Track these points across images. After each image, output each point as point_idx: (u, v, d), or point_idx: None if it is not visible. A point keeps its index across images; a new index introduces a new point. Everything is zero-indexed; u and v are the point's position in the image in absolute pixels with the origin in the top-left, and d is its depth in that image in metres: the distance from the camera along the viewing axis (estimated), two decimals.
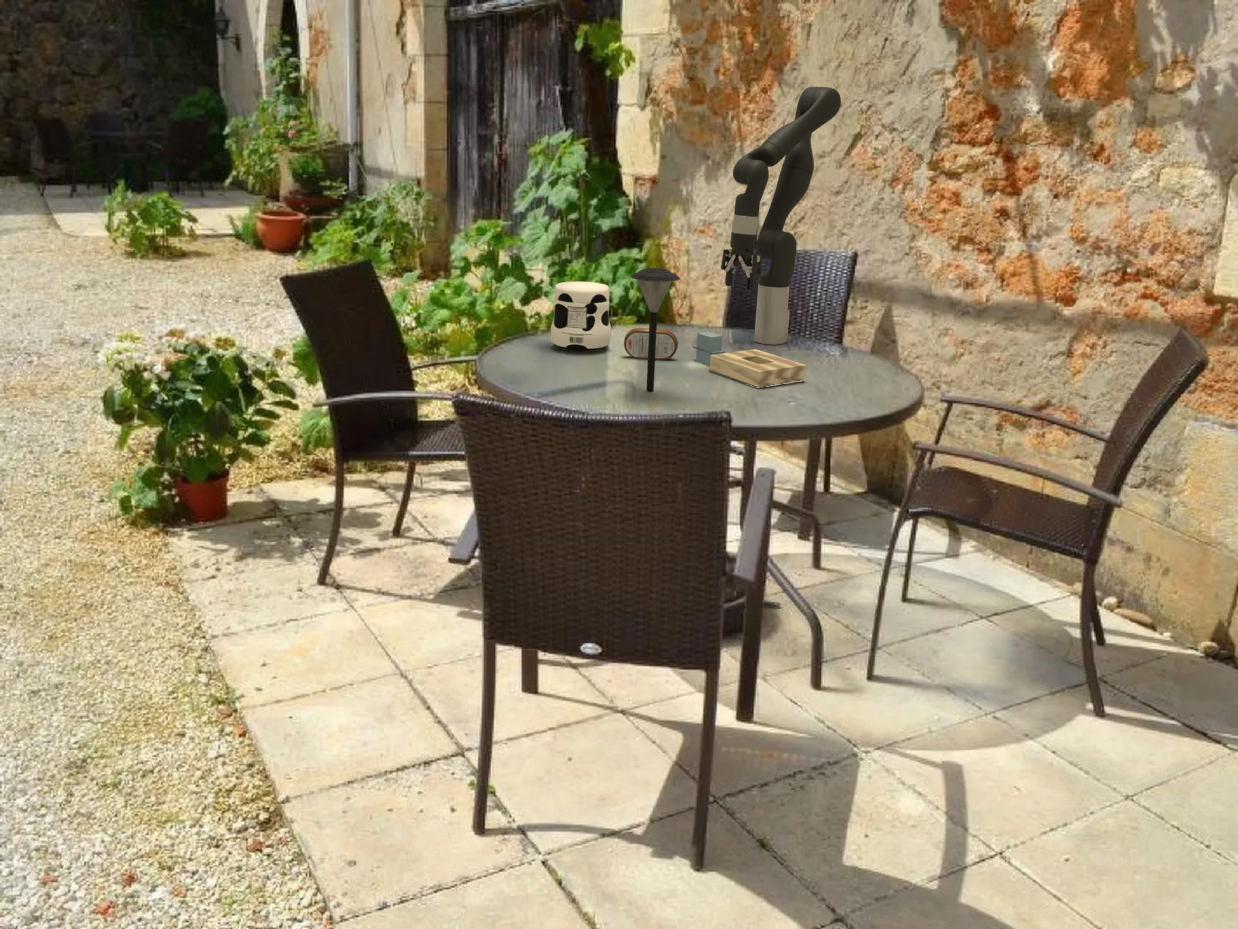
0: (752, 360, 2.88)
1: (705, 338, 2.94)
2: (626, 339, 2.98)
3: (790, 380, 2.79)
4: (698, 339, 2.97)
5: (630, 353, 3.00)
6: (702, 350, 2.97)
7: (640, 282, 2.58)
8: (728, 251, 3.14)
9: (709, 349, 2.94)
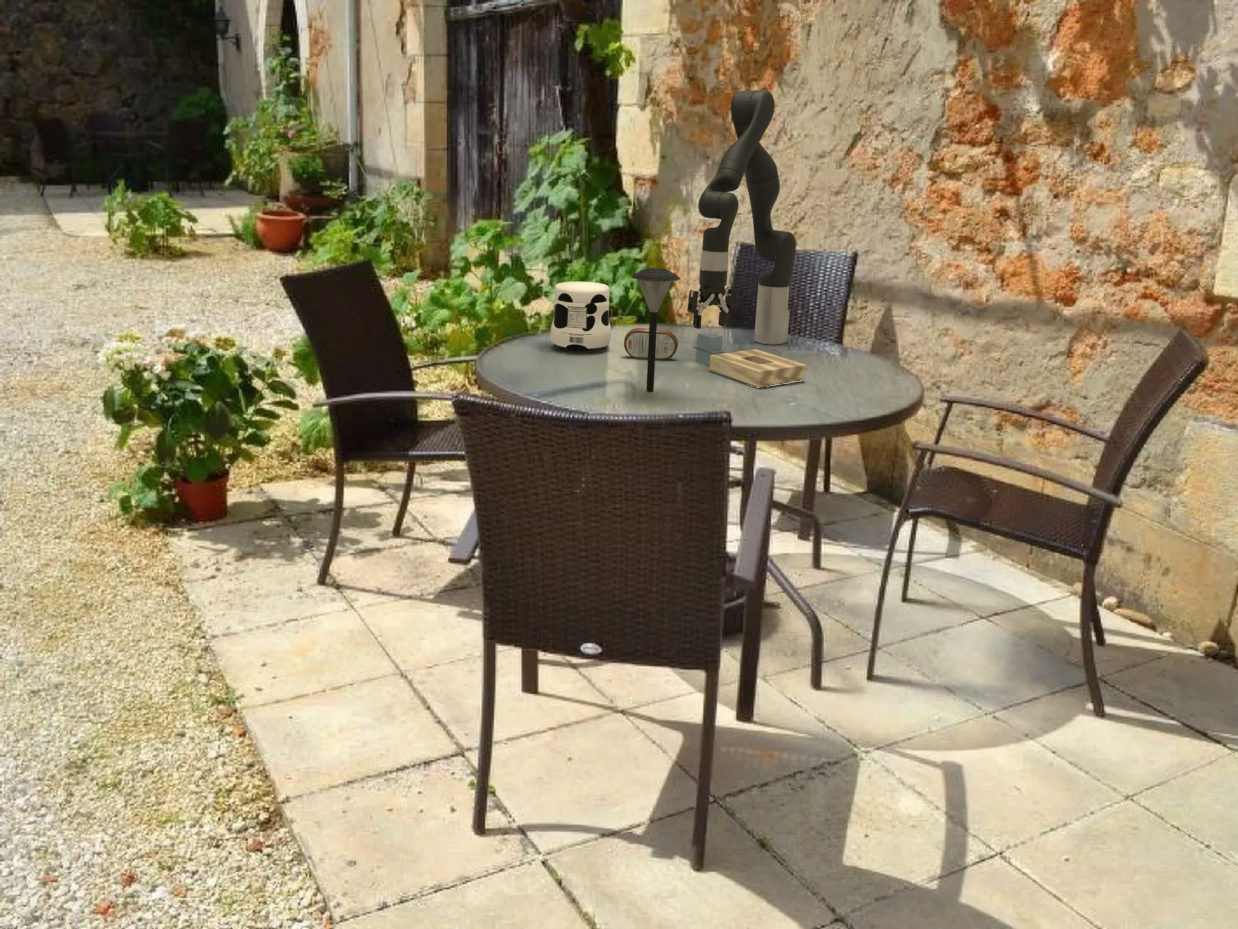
0: (752, 360, 2.88)
1: (706, 338, 2.94)
2: (626, 339, 2.98)
3: (790, 380, 2.79)
4: (698, 339, 2.97)
5: (630, 353, 3.00)
6: (702, 350, 2.97)
7: (640, 282, 2.58)
8: (697, 292, 2.89)
9: (709, 349, 2.94)
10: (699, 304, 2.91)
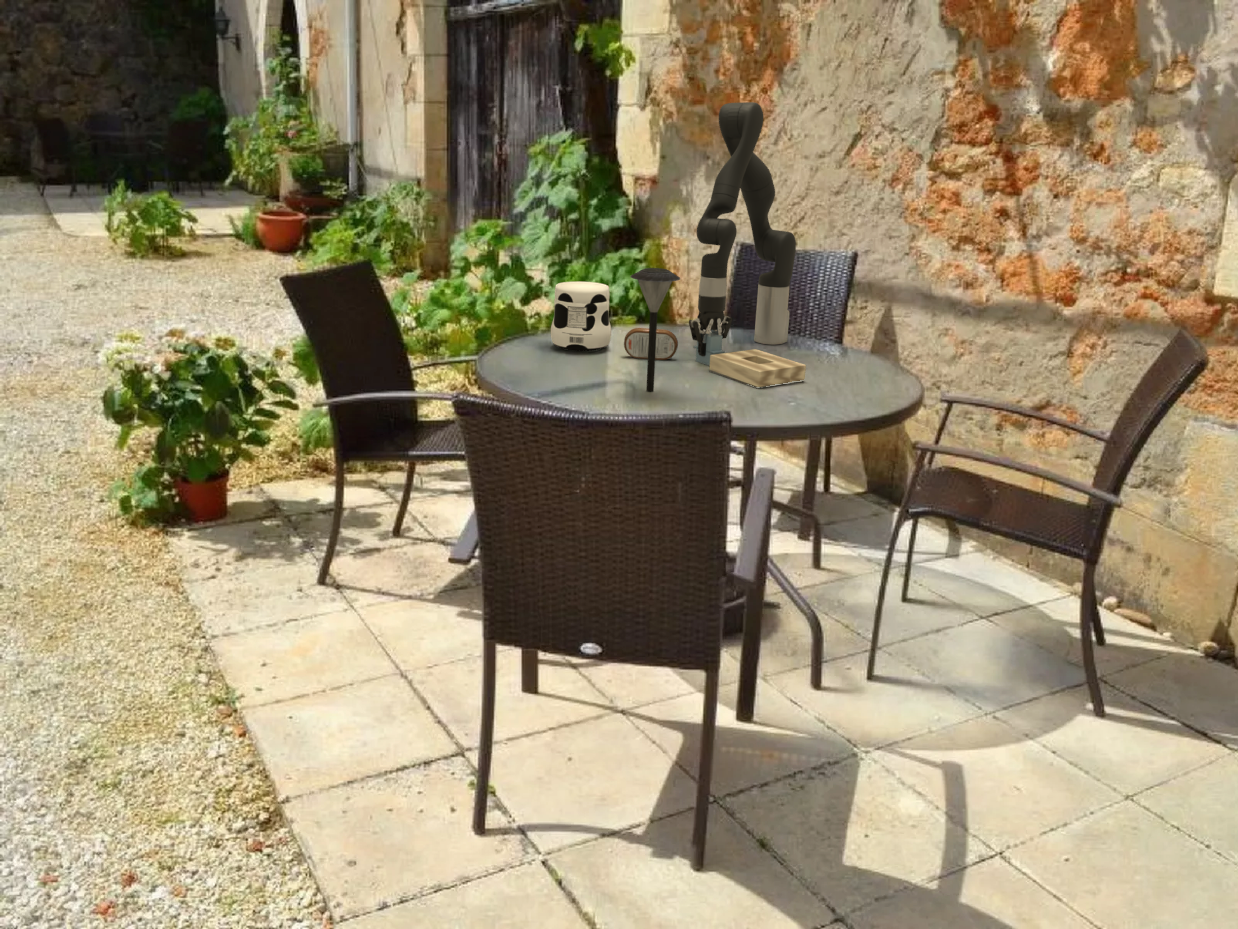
0: (752, 360, 2.88)
1: None
2: (626, 339, 2.98)
3: (790, 380, 2.79)
4: None
5: (630, 353, 3.00)
6: None
7: (640, 282, 2.58)
8: (696, 321, 2.91)
9: (709, 349, 2.94)
10: (701, 332, 2.94)
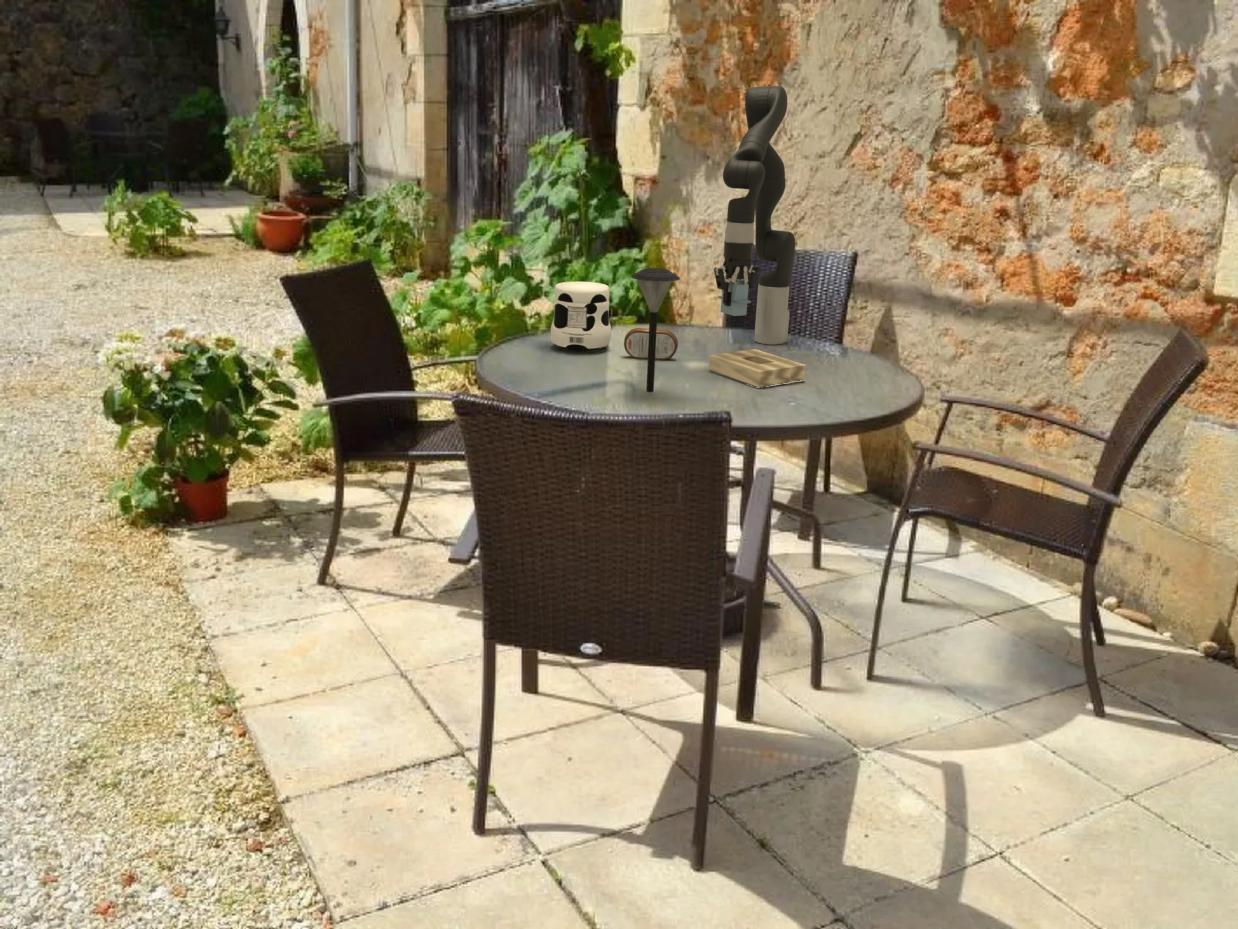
0: (752, 360, 2.88)
1: None
2: (626, 339, 2.98)
3: (790, 380, 2.79)
4: None
5: (630, 353, 3.00)
6: None
7: (640, 282, 2.58)
8: (722, 268, 2.80)
9: (734, 298, 2.82)
10: (727, 280, 2.83)
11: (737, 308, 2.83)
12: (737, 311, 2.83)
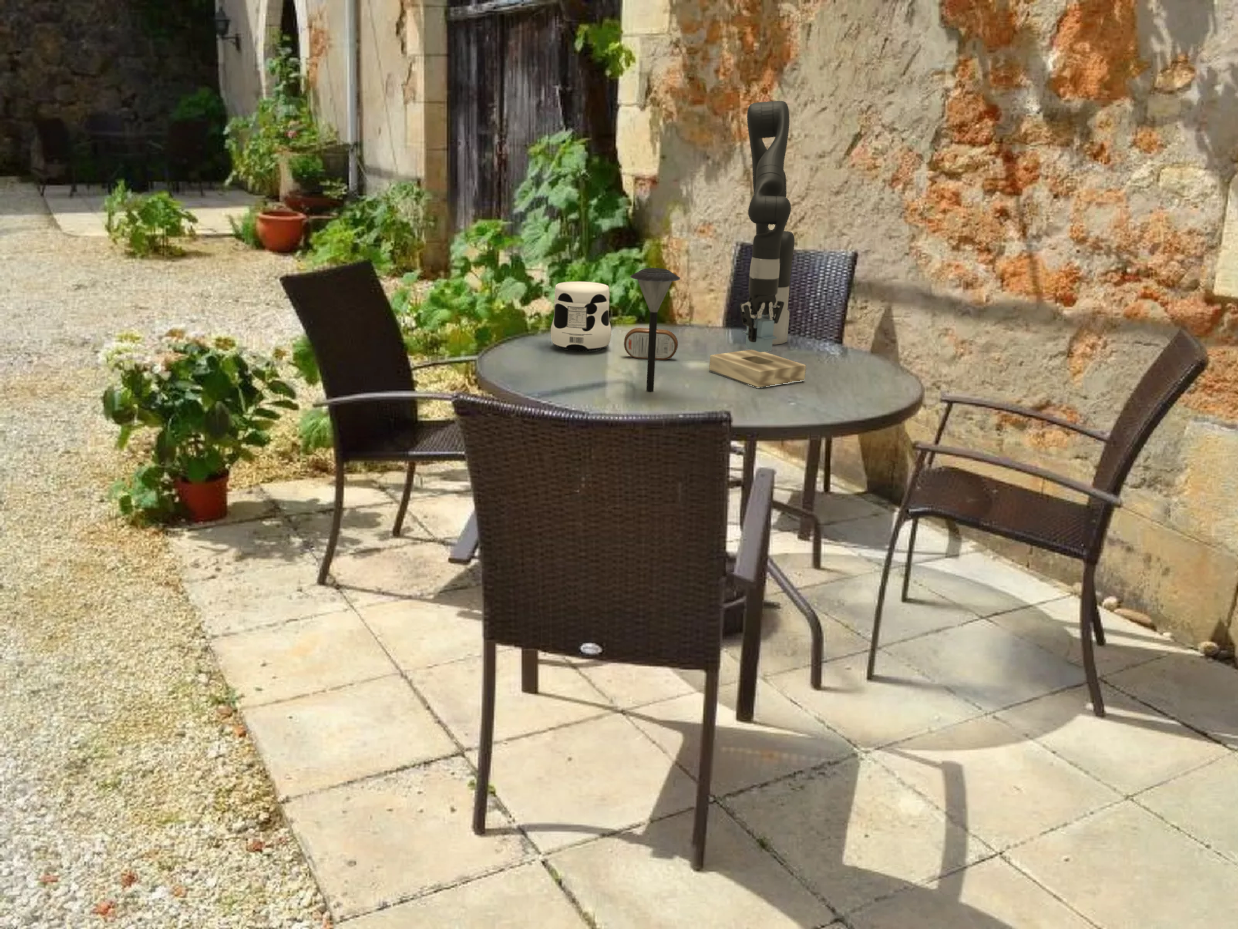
0: (752, 360, 2.88)
1: None
2: (626, 339, 2.98)
3: (790, 380, 2.79)
4: None
5: (630, 353, 3.00)
6: None
7: (640, 282, 2.58)
8: (747, 305, 2.76)
9: (760, 334, 2.79)
10: (752, 316, 2.79)
11: (763, 344, 2.80)
12: (763, 347, 2.80)
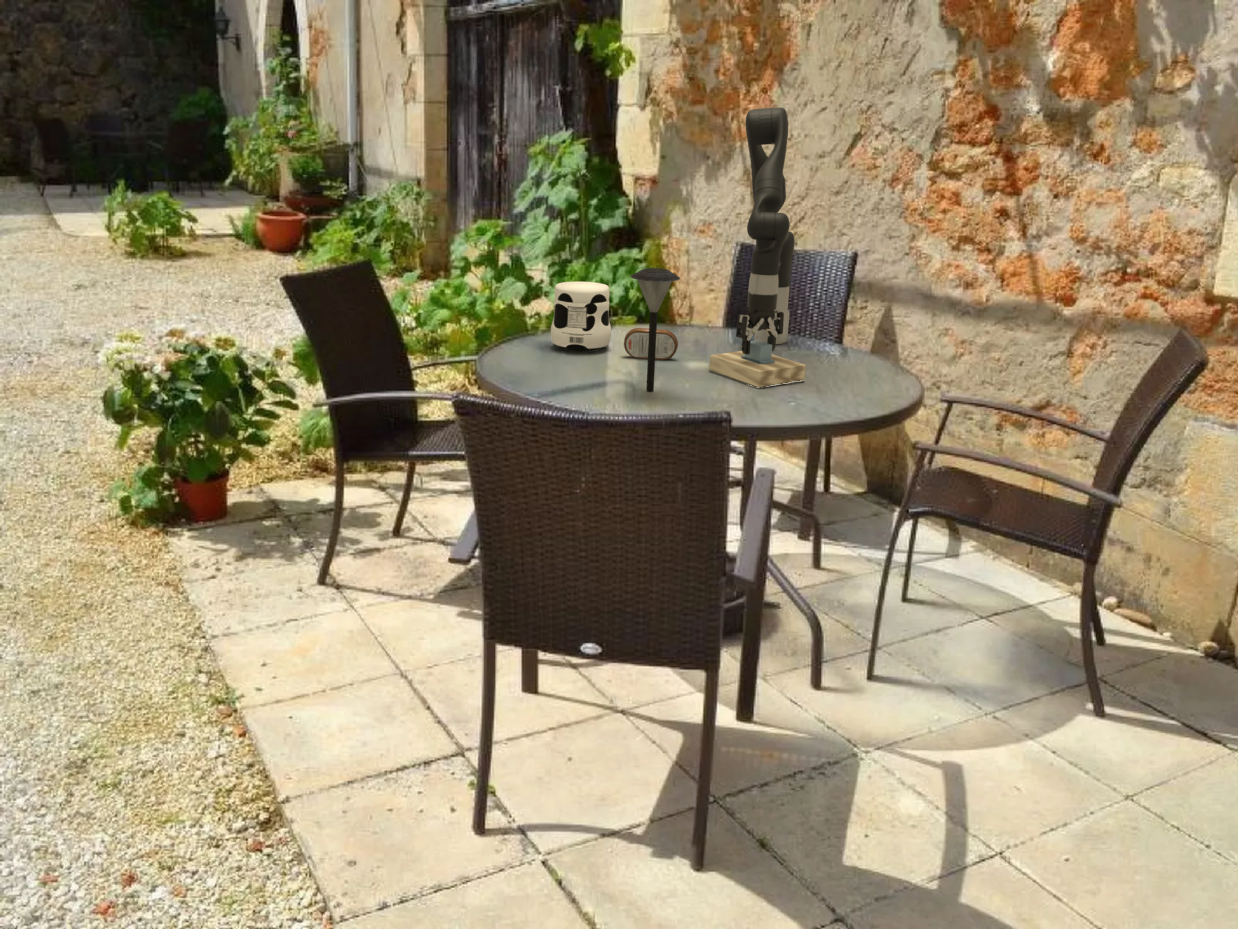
0: None
1: (755, 347, 2.81)
2: (626, 339, 2.98)
3: (790, 380, 2.79)
4: None
5: (630, 353, 3.00)
6: (751, 360, 2.83)
7: (640, 282, 2.58)
8: None
9: (759, 359, 2.81)
10: (748, 329, 2.79)
11: None
12: None
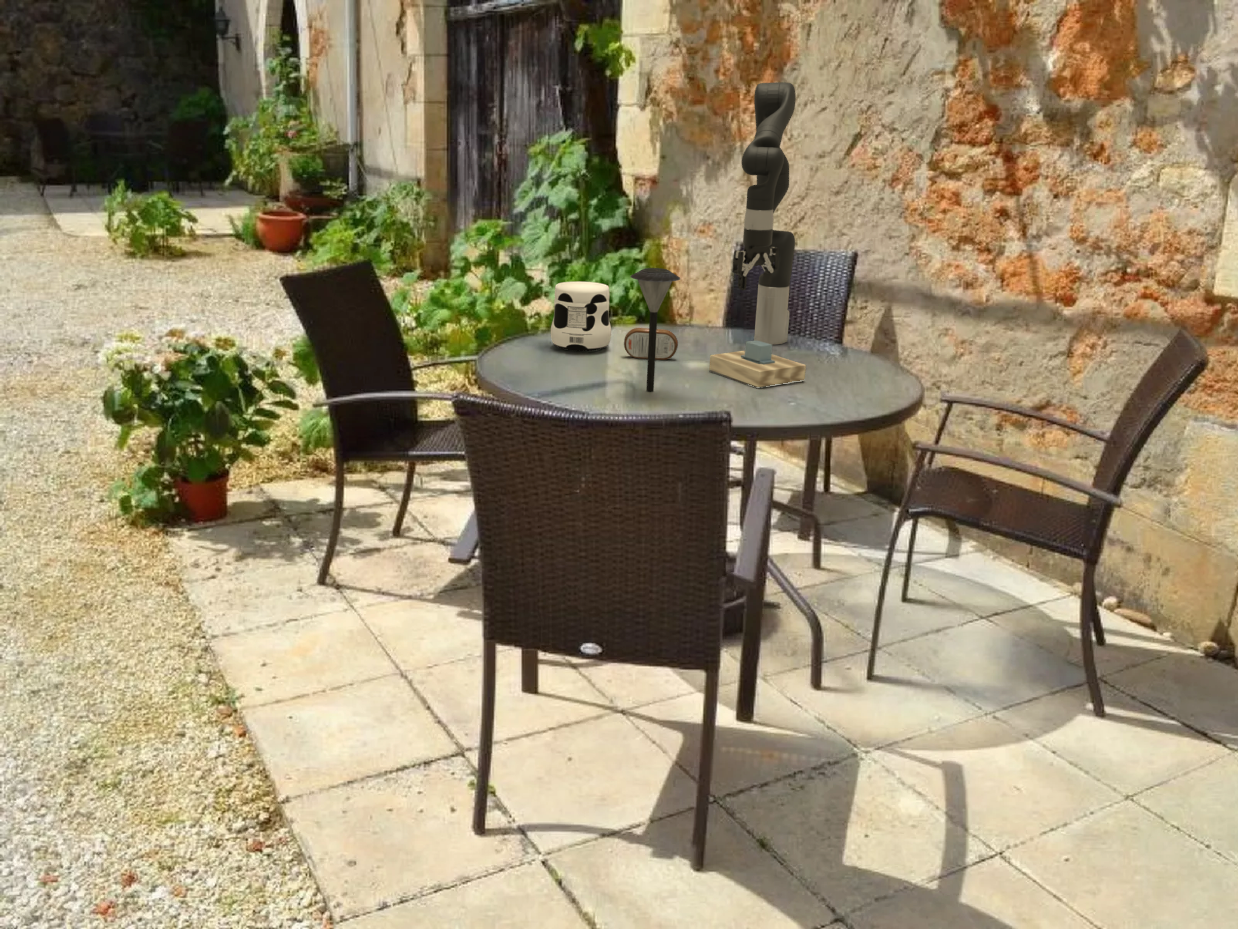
0: None
1: (755, 347, 2.81)
2: (626, 339, 2.98)
3: (790, 380, 2.79)
4: (747, 348, 2.84)
5: (630, 353, 3.00)
6: (751, 360, 2.83)
7: (640, 282, 2.58)
8: None
9: (759, 359, 2.81)
10: (744, 265, 2.82)
11: None
12: None
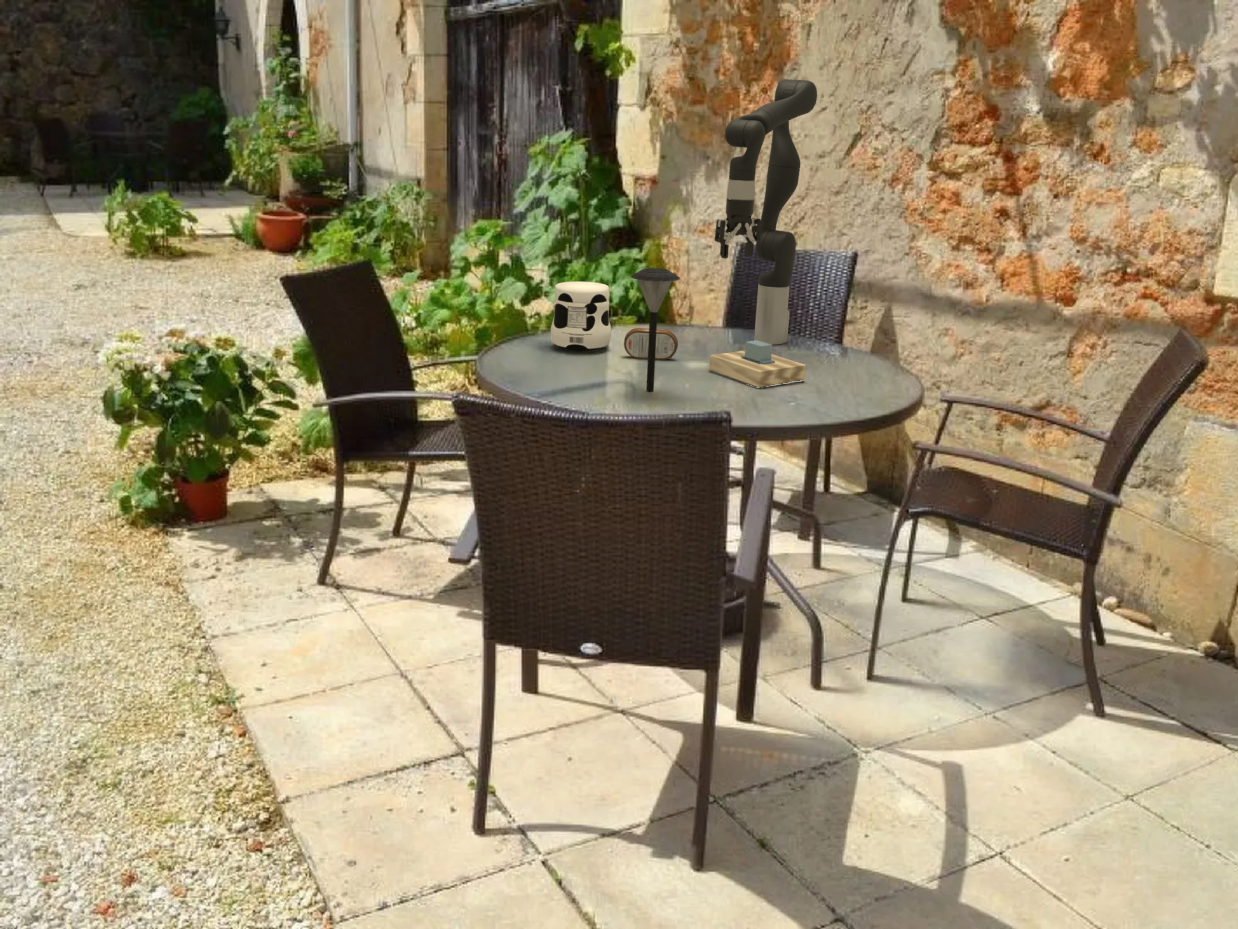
0: None
1: (755, 347, 2.81)
2: (626, 339, 2.98)
3: (790, 380, 2.79)
4: (747, 348, 2.84)
5: (630, 353, 3.00)
6: (751, 360, 2.83)
7: (640, 282, 2.58)
8: None
9: (759, 359, 2.81)
10: (726, 234, 2.93)
11: None
12: None
